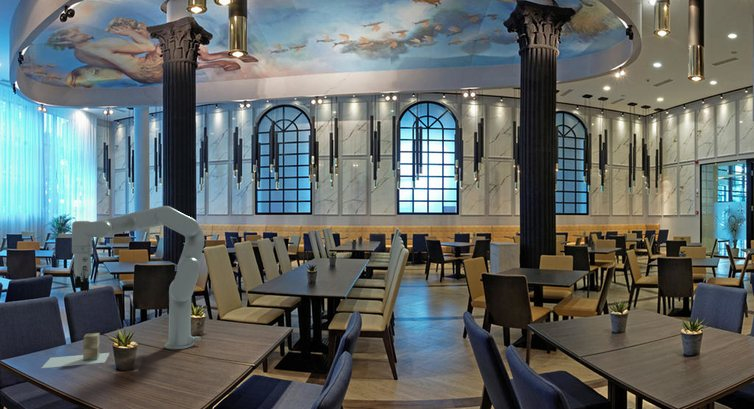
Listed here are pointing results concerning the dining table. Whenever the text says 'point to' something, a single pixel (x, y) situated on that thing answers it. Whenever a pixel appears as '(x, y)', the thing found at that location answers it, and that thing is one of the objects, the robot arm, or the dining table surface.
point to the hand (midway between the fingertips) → (81, 289)
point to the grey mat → (73, 360)
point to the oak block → (91, 347)
